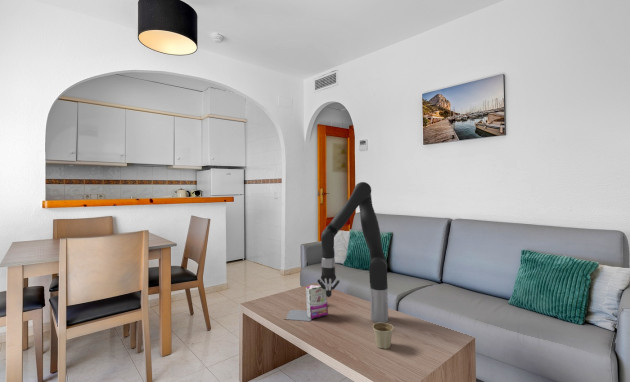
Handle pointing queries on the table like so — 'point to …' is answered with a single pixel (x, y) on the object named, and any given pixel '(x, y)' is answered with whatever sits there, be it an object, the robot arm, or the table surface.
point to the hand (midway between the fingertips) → (328, 296)
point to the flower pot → (383, 334)
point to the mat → (298, 315)
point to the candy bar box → (316, 302)
